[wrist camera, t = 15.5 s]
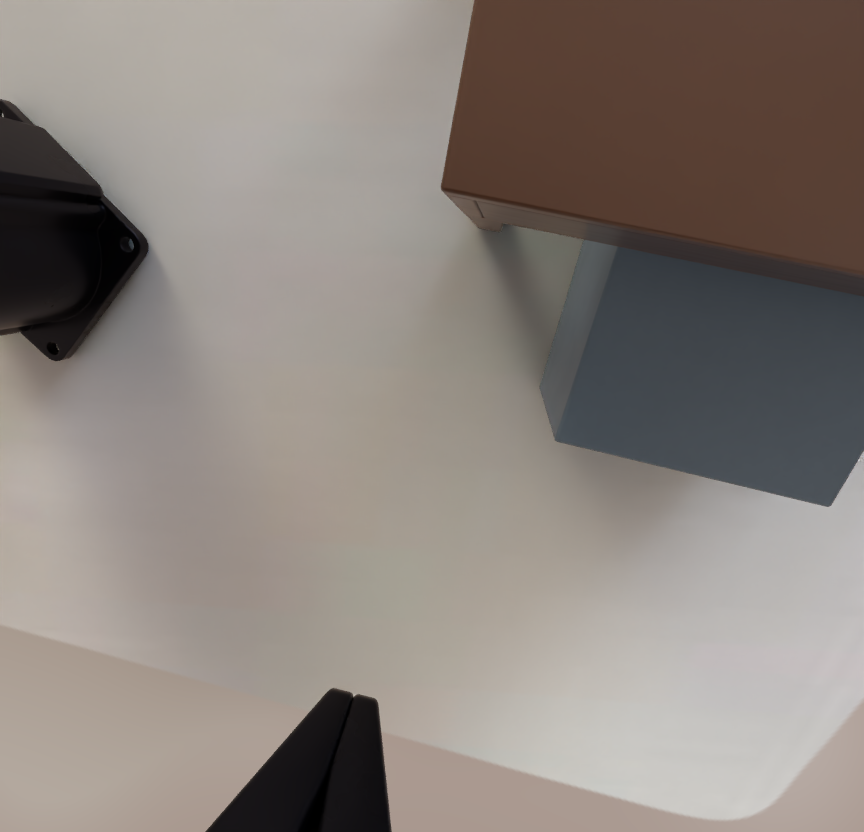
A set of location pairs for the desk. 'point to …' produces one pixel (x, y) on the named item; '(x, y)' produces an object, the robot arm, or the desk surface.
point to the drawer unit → (670, 130)
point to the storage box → (709, 372)
